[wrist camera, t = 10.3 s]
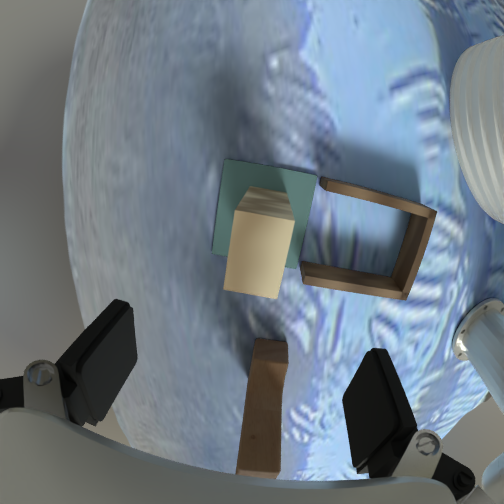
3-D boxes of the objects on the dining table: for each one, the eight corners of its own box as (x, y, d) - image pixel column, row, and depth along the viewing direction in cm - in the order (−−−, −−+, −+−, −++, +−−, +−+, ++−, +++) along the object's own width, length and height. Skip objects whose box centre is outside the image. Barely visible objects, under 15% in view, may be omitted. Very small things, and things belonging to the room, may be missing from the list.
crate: (420, 203, 29) (437, 211, 25) (394, 285, 33) (406, 300, 29) (321, 176, 29) (328, 180, 25) (300, 268, 33) (303, 284, 29)
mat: (316, 175, 29) (317, 175, 29) (295, 267, 33) (296, 269, 33) (225, 158, 29) (224, 158, 29) (212, 252, 33) (211, 253, 33)
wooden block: (255, 336, 37) (242, 451, 20) (288, 340, 37) (291, 456, 20) (247, 379, 40) (234, 481, 24) (276, 383, 40) (273, 485, 23)
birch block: (287, 192, 29) (294, 221, 18) (276, 244, 32) (276, 299, 20) (250, 186, 30) (235, 209, 18) (241, 238, 32) (223, 289, 21)
